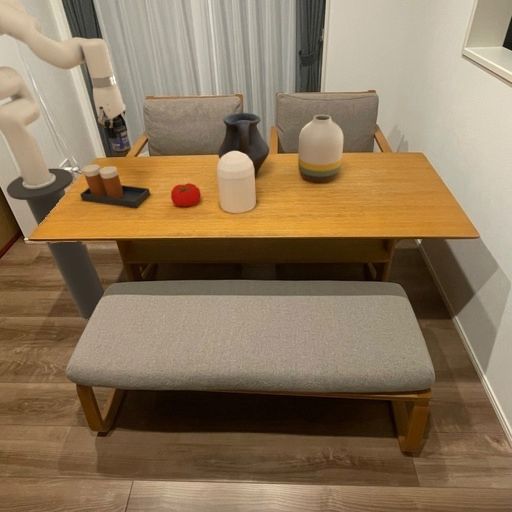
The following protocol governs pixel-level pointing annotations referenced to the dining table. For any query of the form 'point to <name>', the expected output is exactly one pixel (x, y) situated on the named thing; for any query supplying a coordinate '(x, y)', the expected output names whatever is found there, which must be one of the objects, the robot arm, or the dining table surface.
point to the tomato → (185, 195)
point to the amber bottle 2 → (111, 182)
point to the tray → (130, 198)
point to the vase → (320, 149)
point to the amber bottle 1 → (94, 180)
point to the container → (236, 182)
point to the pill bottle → (120, 137)
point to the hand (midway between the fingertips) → (118, 134)
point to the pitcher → (244, 138)
